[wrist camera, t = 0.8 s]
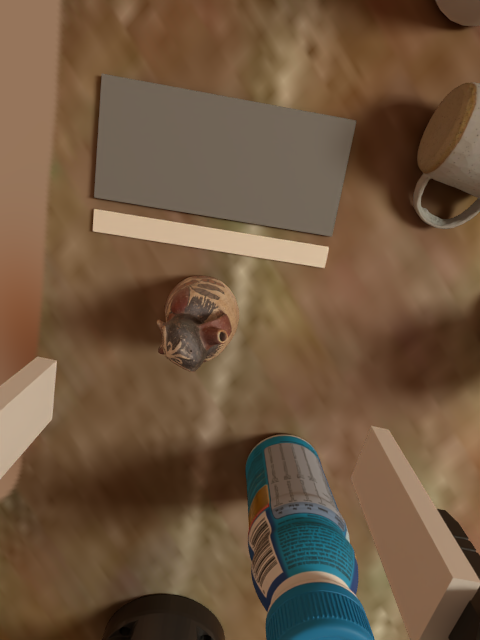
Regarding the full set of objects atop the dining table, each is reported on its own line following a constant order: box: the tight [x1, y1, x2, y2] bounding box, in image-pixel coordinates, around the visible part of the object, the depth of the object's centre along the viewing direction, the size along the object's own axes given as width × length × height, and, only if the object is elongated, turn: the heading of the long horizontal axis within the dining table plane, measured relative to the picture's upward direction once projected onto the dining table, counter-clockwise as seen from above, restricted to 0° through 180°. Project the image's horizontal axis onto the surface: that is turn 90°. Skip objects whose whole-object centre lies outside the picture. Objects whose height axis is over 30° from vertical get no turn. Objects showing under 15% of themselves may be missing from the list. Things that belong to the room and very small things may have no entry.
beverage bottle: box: [246, 434, 375, 640], centre depth 32 cm, size 8×8×20 cm
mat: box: [94, 74, 356, 236], centre depth 34 cm, size 10×22×1 cm, turn 81°
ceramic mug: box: [413, 83, 480, 229], centre depth 31 cm, size 11×8×8 cm
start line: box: [93, 209, 329, 268], centre depth 36 cm, size 2×22×1 cm, turn 81°
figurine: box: [157, 276, 239, 372], centre depth 32 cm, size 7×7×12 cm
